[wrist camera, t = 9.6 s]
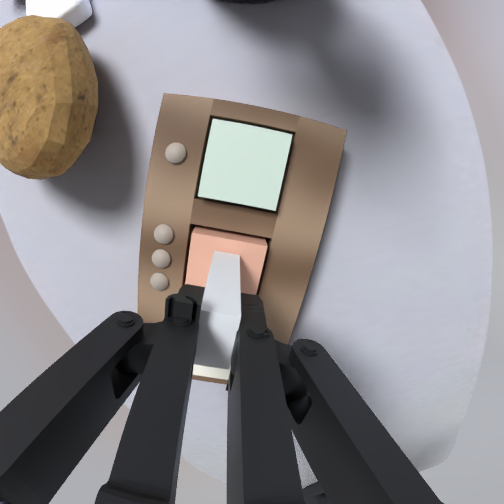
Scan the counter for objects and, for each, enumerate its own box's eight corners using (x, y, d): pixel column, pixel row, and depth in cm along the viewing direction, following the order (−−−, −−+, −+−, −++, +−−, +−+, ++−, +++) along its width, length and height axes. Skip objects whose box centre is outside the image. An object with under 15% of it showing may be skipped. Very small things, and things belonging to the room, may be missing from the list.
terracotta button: (250, 290, 20) (252, 311, 17) (190, 279, 20) (183, 299, 17) (263, 232, 19) (267, 246, 16) (198, 220, 18) (191, 232, 16)
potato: (65, 205, 18) (-4, 234, 10) (4, 94, 14) (-55, 89, 6) (154, 118, 16) (101, 95, 9) (76, 13, 12) (26, -22, 5)
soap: (96, 16, 13) (80, 3, 10) (45, 53, 13) (26, 46, 10) (83, -33, 10) (70, -46, 7) (38, 0, 10) (23, -9, 8)
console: (268, 369, 23) (271, 390, 21) (146, 349, 22) (138, 369, 20) (333, 133, 17) (348, 130, 15) (173, 101, 16) (162, 92, 13)
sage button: (269, 202, 18) (275, 210, 15) (204, 190, 18) (197, 196, 15) (283, 138, 17) (292, 134, 14) (217, 125, 16) (212, 118, 14)
